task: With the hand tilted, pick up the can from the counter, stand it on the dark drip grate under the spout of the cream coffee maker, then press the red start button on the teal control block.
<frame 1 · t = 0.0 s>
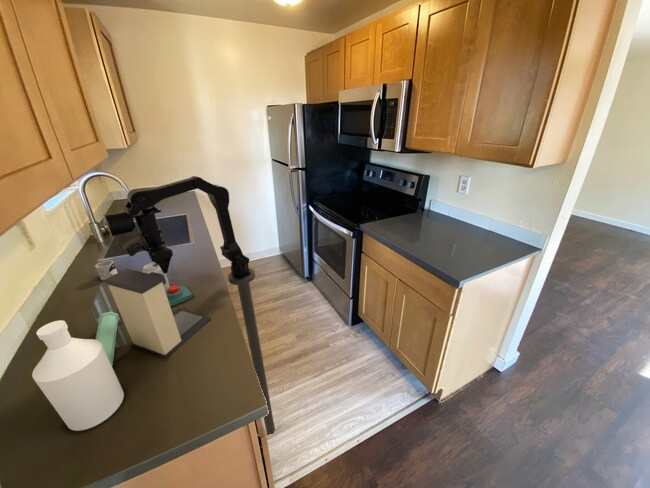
hand: (161, 268, 98), 16 cm above the worktop, tool pointing down, fingers open, 9 cm apart
start button: (173, 289, 107), point 4 cm above the worktop, slide at 0.2 cm
control block: (176, 298, 109), on the worktop
can: (160, 290, 115), on the worktop
bottle: (96, 407, 68), on the worktop
mug: (110, 275, 128), on the worktop
container: (108, 348, 86), on the worktop
coffee maker: (181, 326, 94), on the worktop
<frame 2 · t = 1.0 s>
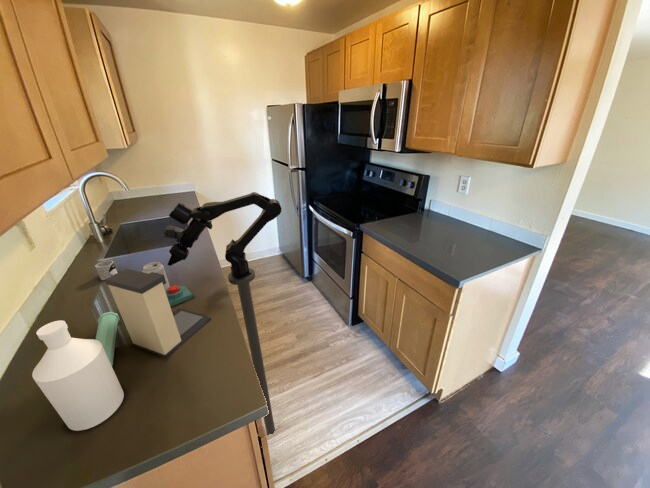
hand: (171, 259, 111), 13 cm above the worktop, tool tilted 45°, fingers open, 9 cm apart
nothing on the worktop moved.
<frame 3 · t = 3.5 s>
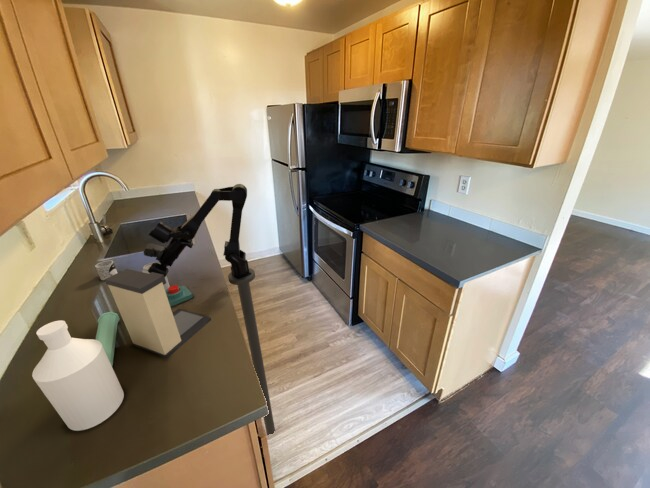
hand: (151, 277, 112), 7 cm above the worktop, tool tilted 45°, fingers closed on can, 7 cm apart
can: (160, 290, 115), on the worktop, touching gripper
everything else where it was.
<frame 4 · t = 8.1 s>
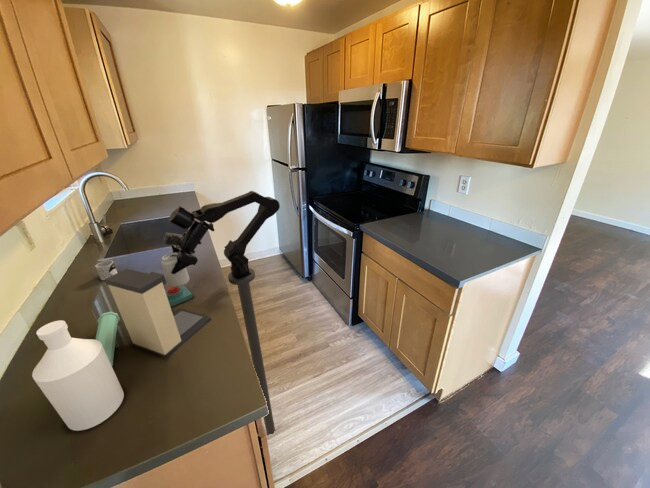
hand: (170, 269, 103), 13 cm above the worktop, tool tilted 45°, fingers closed on can, 7 cm apart
can: (179, 283, 107), point 6 cm above the worktop, touching gripper
everything else where it was.
when the fingers open (8 cm above the worktop, at t = 13.0 s): can stays where it is, resting on coffee maker.
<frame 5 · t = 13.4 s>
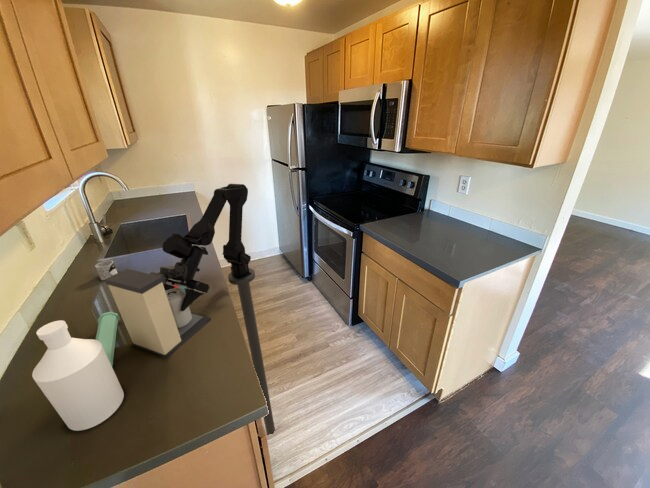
hand: (171, 308, 89), 9 cm above the worktop, tool tilted 45°, fingers open, 9 cm apart
can: (180, 322, 93), point 1 cm above the worktop, touching coffee maker
everything else where it was.
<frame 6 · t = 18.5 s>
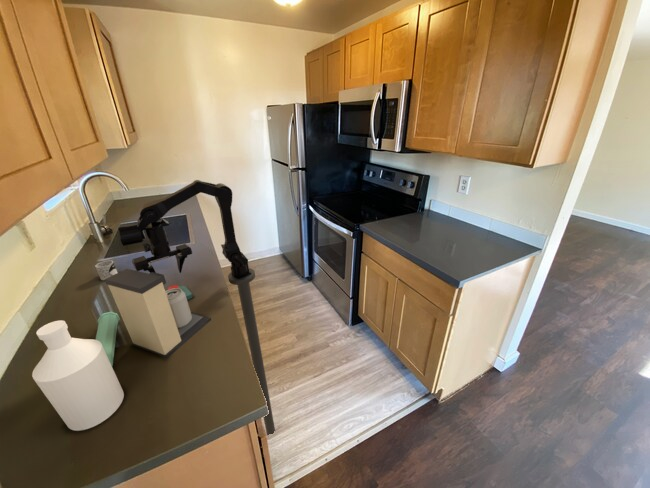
hand: (169, 276, 105), 10 cm above the worktop, tool pointing down, fingers open, 7 cm apart
nothing on the worktop moved.
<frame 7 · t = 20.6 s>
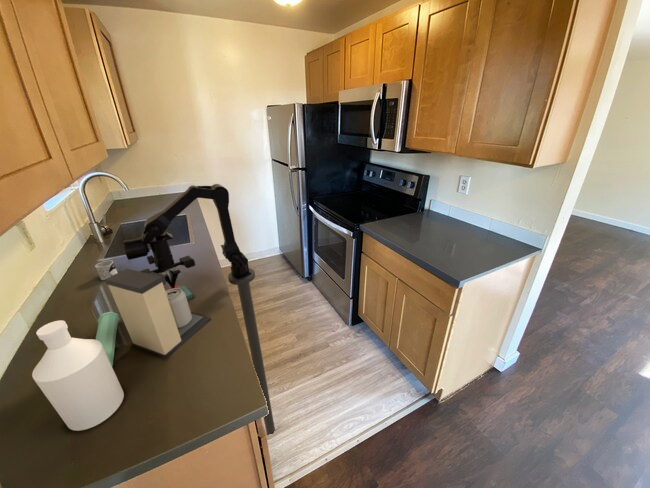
hand: (173, 287, 107), 5 cm above the worktop, tool pointing down, fingers closed, pressing on start button
start button: (173, 289, 107), point 4 cm above the worktop, slide at 0.1 cm, touching gripper
everything else where it was.
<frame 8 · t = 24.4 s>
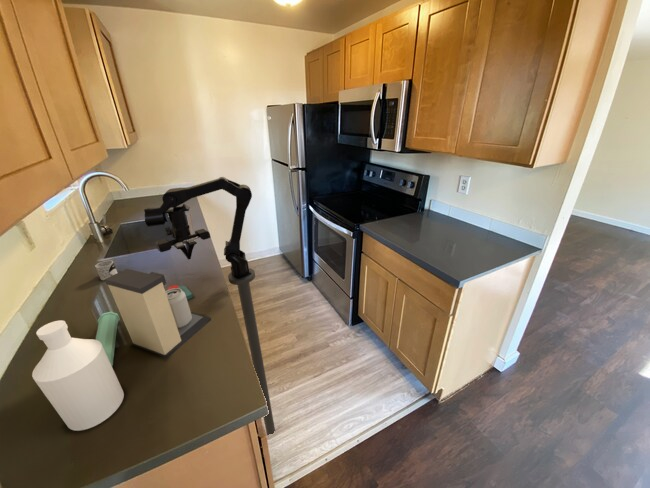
hand: (189, 259, 111), 13 cm above the worktop, tool pointing down, fingers closed
start button: (173, 289, 107), point 4 cm above the worktop, slide at 0.2 cm
everything else where it was.
at the end: can 0.1 cm off-centre on the coffee maker, point 1.3 cm above the coffee maker's base; can tilted 0°; start button pushed in 1.1 cm at the most during the clip, back to 0.2 cm at the end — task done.
